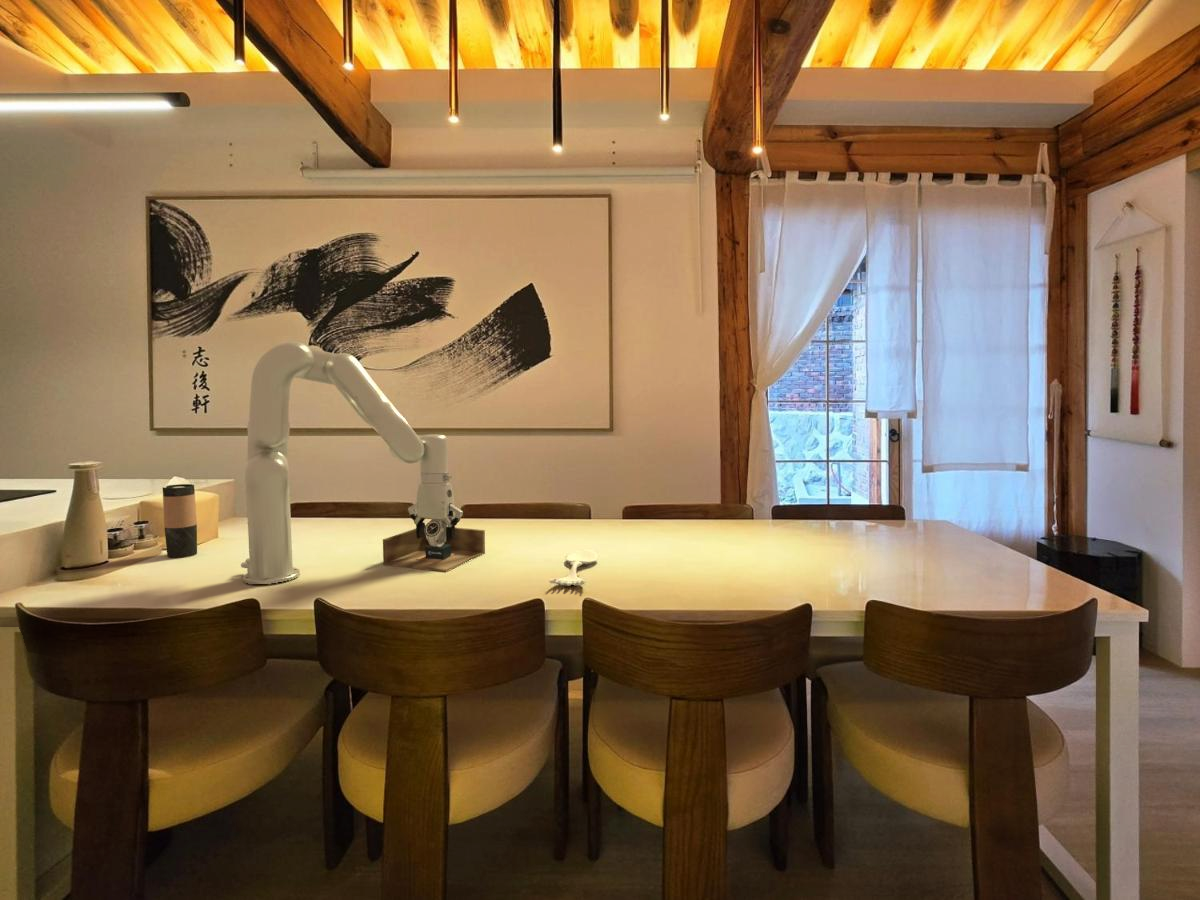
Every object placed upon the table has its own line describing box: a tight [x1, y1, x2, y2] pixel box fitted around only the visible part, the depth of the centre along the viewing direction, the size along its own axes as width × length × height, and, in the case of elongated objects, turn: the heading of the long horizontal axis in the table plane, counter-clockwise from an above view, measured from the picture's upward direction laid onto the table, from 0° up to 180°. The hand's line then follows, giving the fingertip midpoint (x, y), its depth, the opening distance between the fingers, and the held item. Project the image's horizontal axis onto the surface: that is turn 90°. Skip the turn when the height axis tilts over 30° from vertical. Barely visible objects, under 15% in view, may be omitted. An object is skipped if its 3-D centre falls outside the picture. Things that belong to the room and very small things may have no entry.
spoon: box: [549, 549, 599, 587], centre depth 162 cm, size 9×32×4 cm, turn 174°
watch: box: [424, 519, 451, 560], centre depth 174 cm, size 6×8×11 cm
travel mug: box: [162, 483, 198, 559], centre depth 177 cm, size 8×8×20 cm
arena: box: [382, 524, 486, 572], centre depth 175 cm, size 20×20×7 cm
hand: (435, 538), depth 175 cm, fingers open, 9 cm apart
